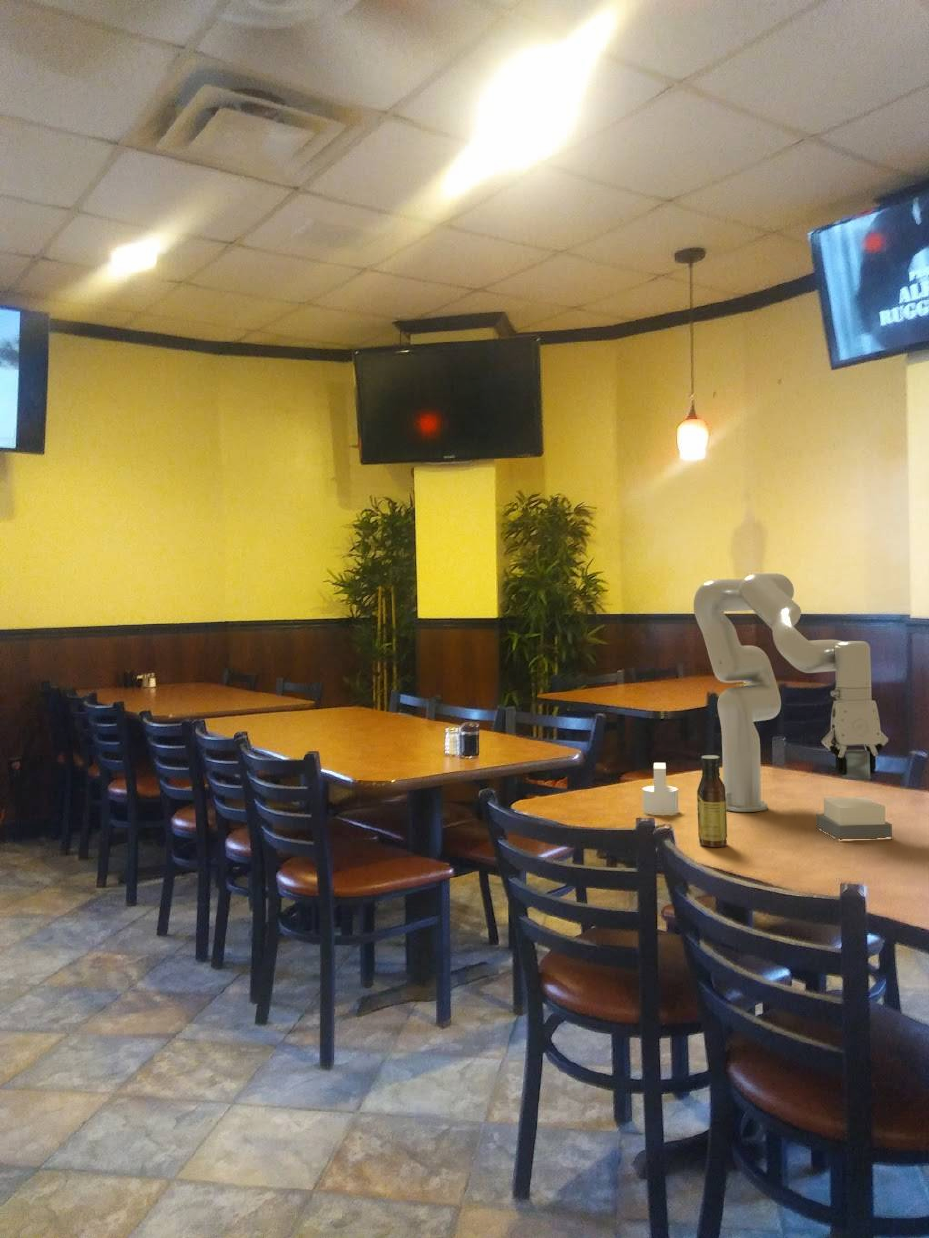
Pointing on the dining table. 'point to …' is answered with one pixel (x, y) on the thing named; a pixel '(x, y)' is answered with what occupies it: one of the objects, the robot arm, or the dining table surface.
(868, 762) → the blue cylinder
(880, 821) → the tower top
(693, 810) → the dining table surface
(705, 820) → the sauce bottle
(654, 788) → the cylinder with rectangular tab
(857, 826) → the tower bottom
